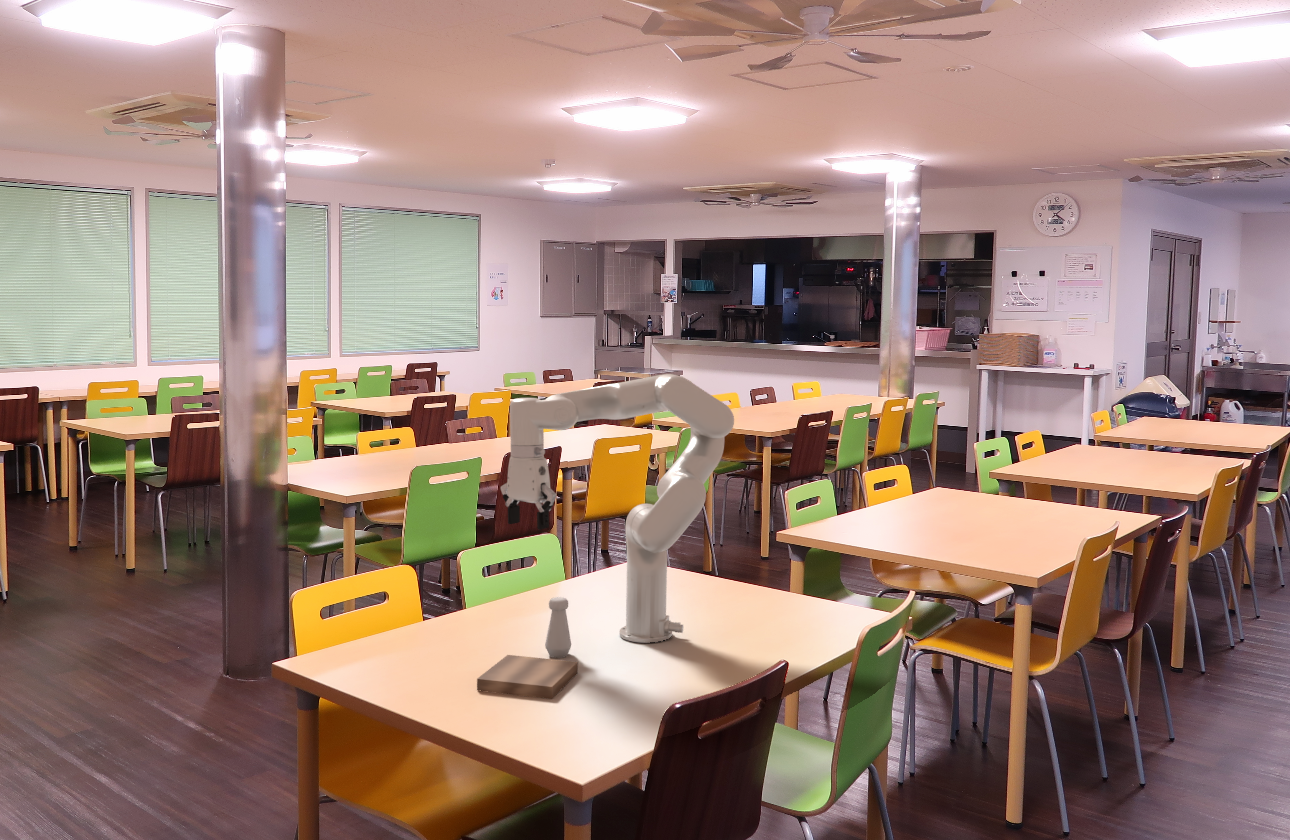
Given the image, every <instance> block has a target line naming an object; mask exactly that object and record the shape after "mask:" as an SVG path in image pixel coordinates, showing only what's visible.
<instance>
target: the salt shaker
mask: <svg viewBox="0 0 1290 840" xmlns="http://www.w3.org/2000/svg"><path fill="white" fill-rule="evenodd" d="M568 607H569V600H568V599H567V598H566V597H564V596H563V597H562V596H555V597H552V598H551V599H550V598H549V601H548V608H549V610H551V612H550V613H551V614H550V619H549V623H548V624H549V625H548V629H547V634H546V637H545V638H546V639H545V645H544V647H545V649H546V651H547V653H548V655H549V657H550V658H552V659H561V658H563V659H564V658H566V657H567V656H568V654H569V652H570V650H571V647H572V641H571V640H572V639H571V634H570V633H571V632H570V628H569V621H568V616H567V609H568Z"/></svg>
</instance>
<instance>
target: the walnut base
mask: <svg viewBox="0 0 1290 840" xmlns="http://www.w3.org/2000/svg"><path fill="white" fill-rule="evenodd" d="M578 668H579V661H574V660H564V659H556V658H543V657H532V656H525V655H524V656H523V655H516V654H515V655H513V654H507V655H505V656H504V657H503V658H502V659H500V660H499V661H498V662H497V663H495V664H494V665H493V666H491V667H490V668H489V669H487V670H486V671H485V672H484V673H482V674H481V675H480V676H479V677H477V678H476V691H477V690H481V691H480V692H483V691H488V692H487V693H492V692H496V693H495V694H501V693H503V694H502V695H509V696H510V695H511V696H512V695H513V696H521V697H528V698H539V699H547V700H553V699H555V697H556V696H557V695H558V694H559V693H560V692H561V691H562V690H563V689H564V687H566V686H567V685H568V684H569V682H571V681H572V680H573V679H574V678H575V677H576V676H577V675H578V673H579V669H578Z"/></svg>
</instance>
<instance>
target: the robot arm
mask: <svg viewBox="0 0 1290 840" xmlns="http://www.w3.org/2000/svg"><path fill="white" fill-rule="evenodd" d="M667 411H668V412H670V413H672V414H673V415H675V416H676V417H677V418H678V419H680V420H681V421H683V422H685V423H686V424H687V425H689V429H690V438H689V441H688V444H687V446H686V447H685V449H684V450H683V452H682V453H681V454H680V456H678V458H677V459H676V460H675V462H674V463H673V464H672V465H671V467H670V468H669V469H668V470H667V471H666V473H665V474H663V476H662V477H661V478H660V480H659V481H658V483H657V486H656V494H657V497H658V500H657V501H655V503H654V504H652V503H641V504H640V503H639V504H637V505H636V506H634V507H633V508H632V509H631V510H630V511H629V513H628V514H627V517H626V520H625V541H626V542H625V543H626V544H625V546H626V596H625V597H626V607H625V608H626V609H625V610H626V612H625V626H623V627H621V628H620V629H619V637H620V638H621V639H622V640H623V639H624V640H626V641H628V642H634V643H639V644H641V643H642V644H644V643H645V644H651V643H650V642H655V643H659V642H658V641H661V642H664V641H663V640H665V641H667V640H666V639H668V638H670V637H671V636H672V637H673V632H674V633H679V634H680V633H681V634H683V633H684V624H681V622H677V621H671V620H670V615H667V585H668V584H667V583H668V580H667V578H668V577H667V576H668V552H667V550H669V549H670V548H671V547H672V546H673V545H674V544H676V542H677V541H678V540H679V538H680V537H681V536H682V535H683V533H685V531H686V530H687V529H688V527H689V526H690V525H691V524H692V523H693V521H695V519H696V518H697V516H698V515H699V514H700V512H701V511H702V509H703V507H704V505H705V502H706V500H707V499H706V498H707V491H706V487H705V484H706V482H707V480H708V479H709V477H710V476H711V475H712V473H713V472H714V470H715V469H716V468H717V466H718V465H719V463H720V462H721V460H722V457H723V454H724V450H725V437H726V436H727V435H729V434H730V432H731V431H732V430H733V428H734V425H735V418H734V417H735V416H734V413H733V412H732V409H731V408H730V407H729V406H728V405H727V404H726V403H724V402H722V401H721V400H719V399H718V398H716V397H715V396H713V395H711V394H710V393H709V392H707V391H706V390H704V389H702V388H700V386H698V385H696V384H695V383H693V382H692V381H690V380H689V379H688V378H686V377H684V376H681V375H677V374H673V373H665V374H664V373H663V374H659V375H653V376H647V377H643V378H637V379H632V380H628V381H622V382H621V381H620V382H617V383H616V382H614V383H609V384H604V385H600V386H594V387H589V388H583V389H578V390H572V391H571V390H570V391H566V392H561V393H557V394H552V395H550V396H548V397H546V398H545V399H539V398H537V397H519V398H518V397H517V398H514V399H512V400H511V401H510V404H509V423H510V424H509V425H510V426H509V429H510V430H509V431H510V432H509V433H510V438H509V439H510V457H509V462H508V467H507V482H506V483H504V484H503V485H501V486H500V491H501V494H502V498H503V500H504V502H505V506H506V507H507V523H508V525H512V524H514V525H515V524H518V523H520V521H521V519H520V518H521V513H520V512H521V511H520V505H519V503H520V502H526V503H531V504H535V506H536V508H537V510H538V511H537V514H536V528H537V529H538V530H544V529H545V530H546V529H548V528H550V511H551V510H552V507H553V506H554V505H555V502H556V498H557V493H556V492H555V491H554V490H553V489H552V488H551V478H550V471H549V465H548V462H547V461H548V460H547V458H545V456H544V455H545V454H546V450H545V448H544V447H545V446H544V443H545V442H544V440H545V439H544V429H545V430H554V431H566V430H569V429H572V428H573V427H574V426H575V425H576V423H577V422H583V421H589V420H590V421H591V420H598V419H599V420H603V419H604V420H615V421H616V420H626V419H631V418H636V417H640V416H644V415H649V414H655V413H656V414H657V413H661V412H667ZM672 637H671V638H672ZM671 638H670V639H671ZM668 640H669V639H668Z"/></svg>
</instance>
